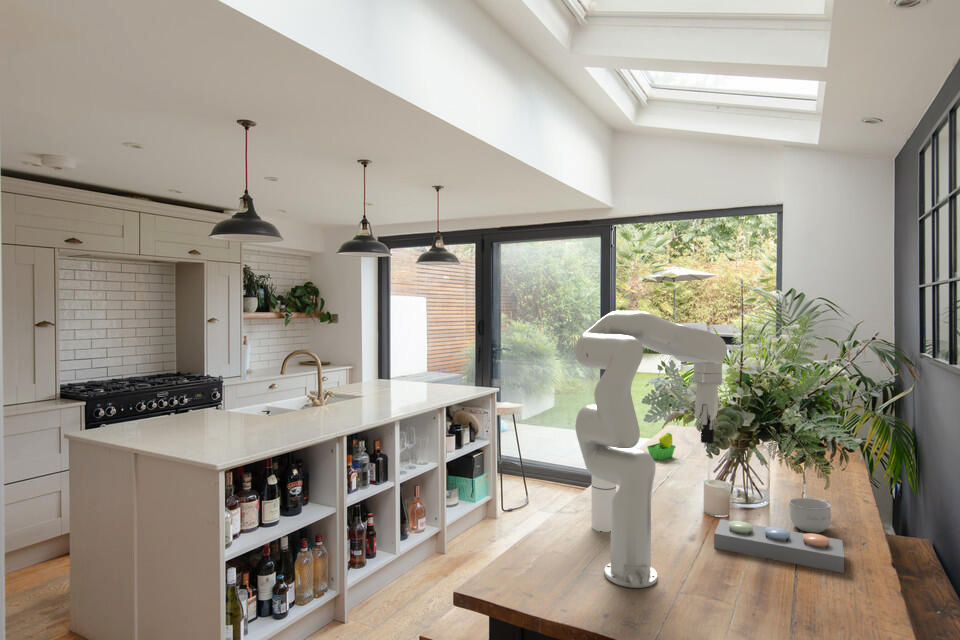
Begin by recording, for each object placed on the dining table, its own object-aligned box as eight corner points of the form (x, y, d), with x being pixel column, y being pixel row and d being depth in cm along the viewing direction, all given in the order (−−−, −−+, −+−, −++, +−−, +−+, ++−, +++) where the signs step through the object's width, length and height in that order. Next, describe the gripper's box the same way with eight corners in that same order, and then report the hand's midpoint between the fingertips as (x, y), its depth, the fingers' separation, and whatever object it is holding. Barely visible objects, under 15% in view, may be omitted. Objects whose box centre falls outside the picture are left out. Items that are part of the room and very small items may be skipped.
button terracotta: (829, 551, 152) (829, 536, 152) (829, 559, 147) (829, 544, 146) (802, 546, 155) (803, 531, 155) (802, 554, 150) (802, 539, 149)
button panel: (842, 554, 153) (842, 540, 153) (843, 573, 142) (844, 557, 142) (720, 532, 168) (720, 519, 168) (714, 547, 158) (714, 533, 157)
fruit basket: (661, 453, 257) (661, 428, 257) (679, 457, 250) (679, 431, 250) (646, 458, 250) (646, 432, 250) (664, 462, 243) (664, 435, 243)
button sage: (753, 537, 161) (753, 523, 161) (751, 545, 156) (751, 530, 155) (730, 533, 164) (730, 519, 164) (727, 540, 159) (727, 526, 158)
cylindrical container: (588, 529, 171) (588, 445, 170) (595, 521, 177) (595, 440, 176) (612, 533, 167) (612, 448, 167) (618, 525, 174) (618, 442, 173)
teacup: (809, 538, 164) (809, 510, 164) (780, 524, 174) (780, 497, 174) (848, 532, 168) (848, 505, 168) (817, 519, 178) (817, 493, 178)
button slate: (790, 544, 156) (790, 529, 156) (789, 552, 151) (789, 537, 151) (765, 539, 159) (765, 525, 159) (763, 547, 154) (764, 532, 154)
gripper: (698, 374, 172) (698, 436, 173) (689, 380, 159) (688, 446, 160) (725, 376, 169) (725, 438, 169) (718, 382, 156) (717, 450, 156)
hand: (707, 442), depth 164 cm, fingers closed
